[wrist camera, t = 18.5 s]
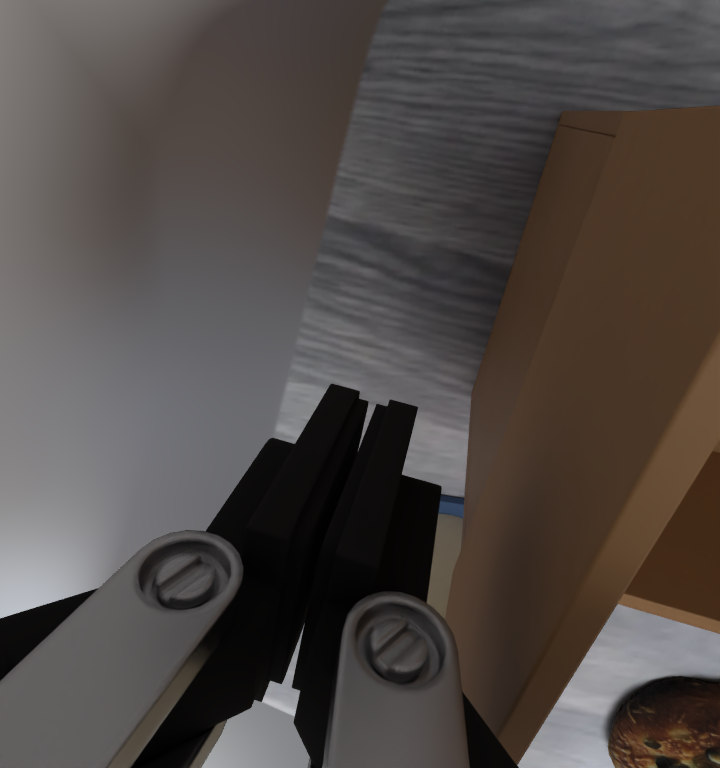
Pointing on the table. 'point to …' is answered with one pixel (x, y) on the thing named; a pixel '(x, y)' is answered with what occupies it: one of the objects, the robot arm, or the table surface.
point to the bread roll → (668, 727)
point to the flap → (598, 425)
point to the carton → (515, 353)
